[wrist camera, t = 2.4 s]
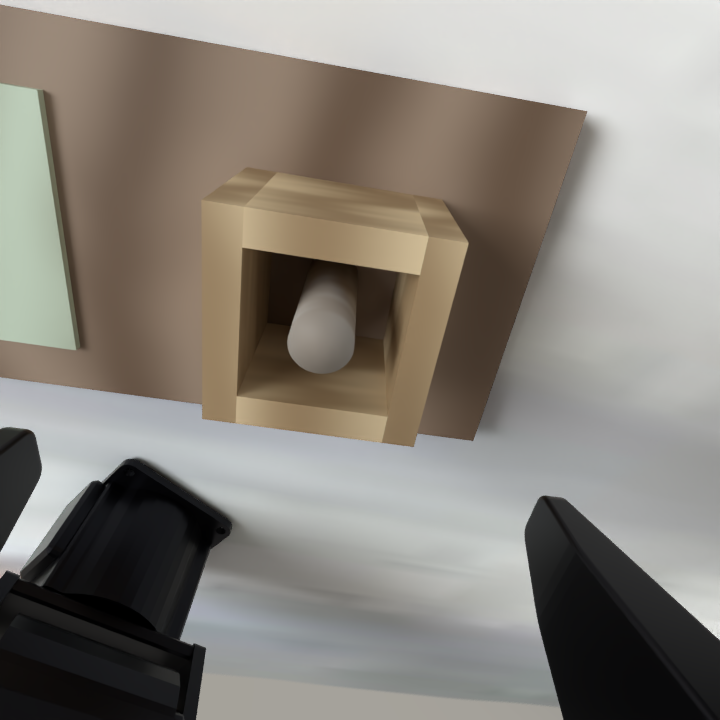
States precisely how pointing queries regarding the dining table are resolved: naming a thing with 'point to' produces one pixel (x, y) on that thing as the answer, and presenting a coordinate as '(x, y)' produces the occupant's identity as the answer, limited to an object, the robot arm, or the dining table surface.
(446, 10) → the dining table surface
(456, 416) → the board
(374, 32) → the dining table surface
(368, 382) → the collar
